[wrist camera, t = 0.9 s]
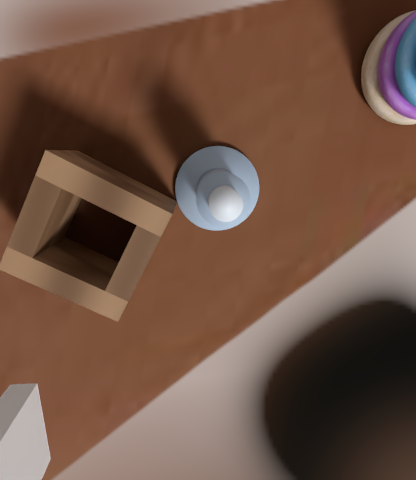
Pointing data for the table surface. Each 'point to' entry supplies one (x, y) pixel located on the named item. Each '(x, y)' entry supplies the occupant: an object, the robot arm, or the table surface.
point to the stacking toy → (392, 71)
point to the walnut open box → (72, 253)
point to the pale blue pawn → (217, 188)
